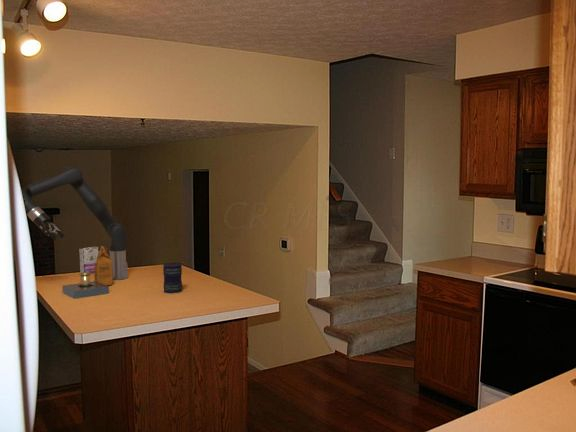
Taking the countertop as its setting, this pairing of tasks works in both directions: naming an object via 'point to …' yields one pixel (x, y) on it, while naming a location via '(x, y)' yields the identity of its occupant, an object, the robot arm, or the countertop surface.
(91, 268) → the candy bar box
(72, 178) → the robot arm
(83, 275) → the brass mushroom peg
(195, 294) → the countertop surface
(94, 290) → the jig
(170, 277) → the storage jar
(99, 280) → the coffee package
